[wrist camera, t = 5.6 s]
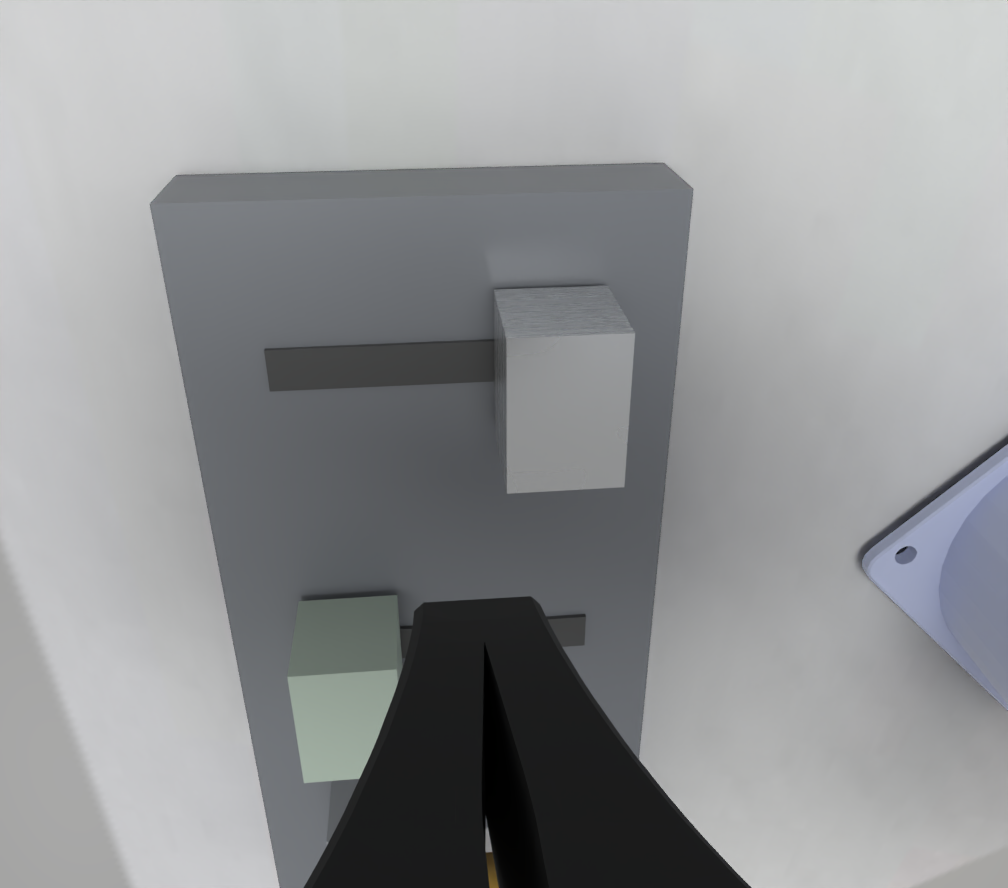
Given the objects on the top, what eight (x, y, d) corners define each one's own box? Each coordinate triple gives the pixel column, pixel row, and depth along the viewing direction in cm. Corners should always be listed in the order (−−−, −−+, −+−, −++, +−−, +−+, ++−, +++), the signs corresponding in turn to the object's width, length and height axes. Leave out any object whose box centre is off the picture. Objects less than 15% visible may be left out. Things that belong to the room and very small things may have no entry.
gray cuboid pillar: (494, 289, 16) (506, 338, 14) (607, 285, 16) (635, 332, 14) (495, 431, 17) (506, 493, 15) (599, 426, 18) (624, 487, 16)
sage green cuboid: (298, 601, 19) (287, 677, 17) (397, 595, 19) (396, 669, 17) (313, 702, 20) (303, 783, 18) (404, 695, 20) (404, 775, 18)
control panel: (175, 175, 17) (116, 239, 13) (663, 163, 17) (729, 221, 14) (295, 862, 26) (279, 1006, 22) (610, 834, 27) (642, 969, 23)
